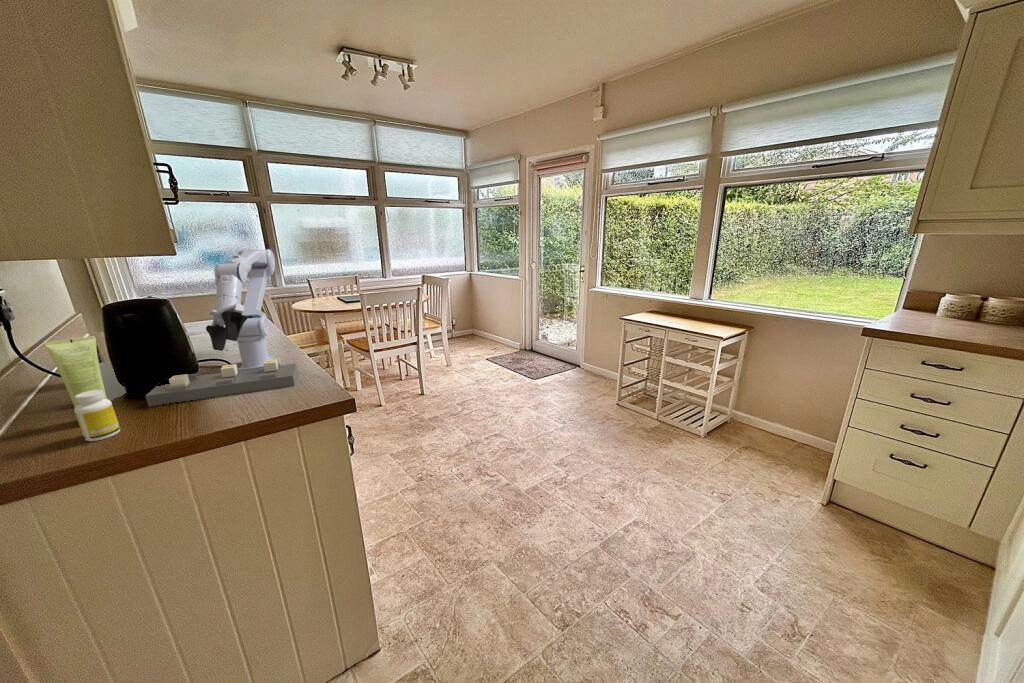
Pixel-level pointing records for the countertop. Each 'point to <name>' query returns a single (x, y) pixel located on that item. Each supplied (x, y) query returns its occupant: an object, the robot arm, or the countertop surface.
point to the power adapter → (110, 381)
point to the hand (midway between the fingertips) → (224, 345)
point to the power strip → (224, 385)
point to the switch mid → (229, 370)
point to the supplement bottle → (96, 416)
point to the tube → (77, 365)
